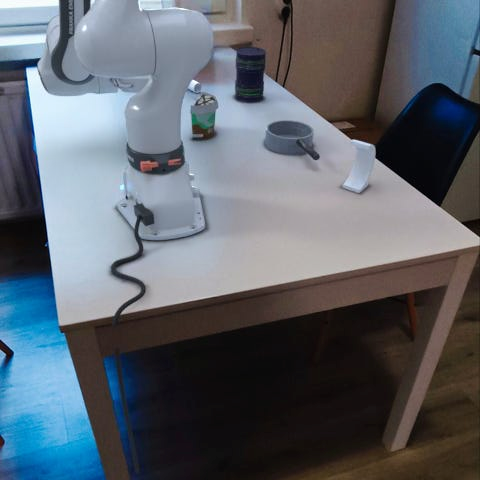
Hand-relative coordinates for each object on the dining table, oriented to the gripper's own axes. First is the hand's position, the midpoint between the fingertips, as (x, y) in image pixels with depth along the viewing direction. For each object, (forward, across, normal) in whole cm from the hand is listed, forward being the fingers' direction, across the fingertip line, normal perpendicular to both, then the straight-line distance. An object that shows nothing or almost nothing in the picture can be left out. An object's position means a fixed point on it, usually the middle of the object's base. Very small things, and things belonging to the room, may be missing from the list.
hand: (162, 70), depth 128 cm
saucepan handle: (+32, -24, +15) cm, 43 cm away
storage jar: (+35, +26, +19) cm, 47 cm away
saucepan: (+32, -13, +18) cm, 39 cm away
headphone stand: (+38, -40, +18) cm, 58 cm away
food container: (+12, 0, +19) cm, 22 cm away
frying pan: (+13, +51, +19) cm, 56 cm away
